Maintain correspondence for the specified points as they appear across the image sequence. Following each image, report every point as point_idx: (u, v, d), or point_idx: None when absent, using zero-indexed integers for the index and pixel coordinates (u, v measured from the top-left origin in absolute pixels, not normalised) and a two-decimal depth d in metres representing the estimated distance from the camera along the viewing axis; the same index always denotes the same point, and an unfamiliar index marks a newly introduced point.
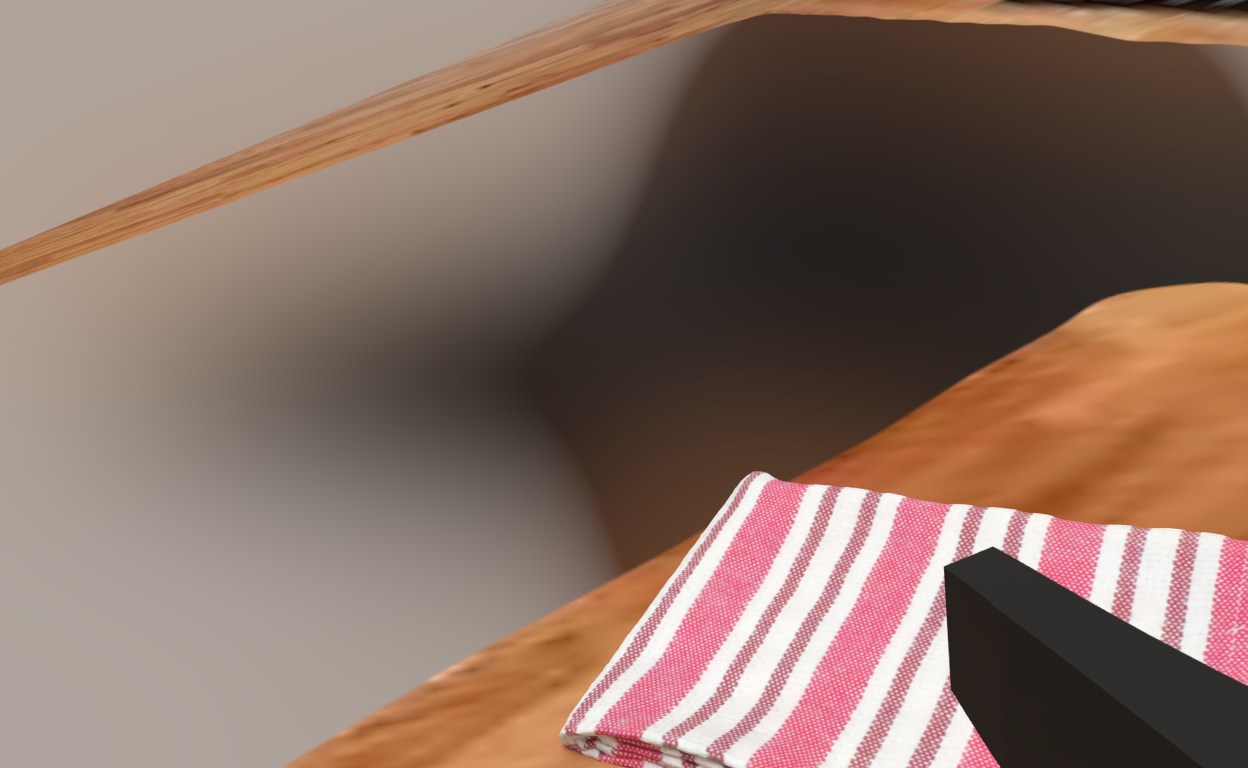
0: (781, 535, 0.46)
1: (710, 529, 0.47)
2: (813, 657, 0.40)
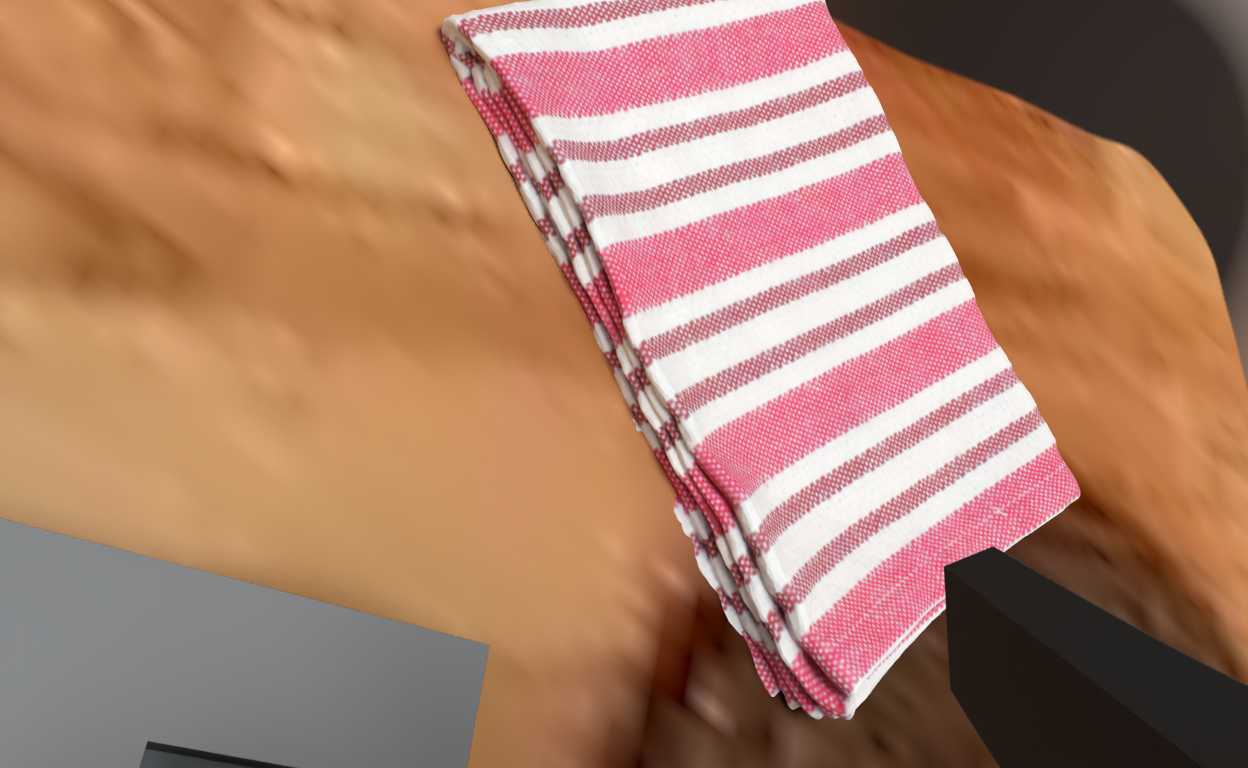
0: (785, 64, 0.37)
1: None
2: (718, 203, 0.34)
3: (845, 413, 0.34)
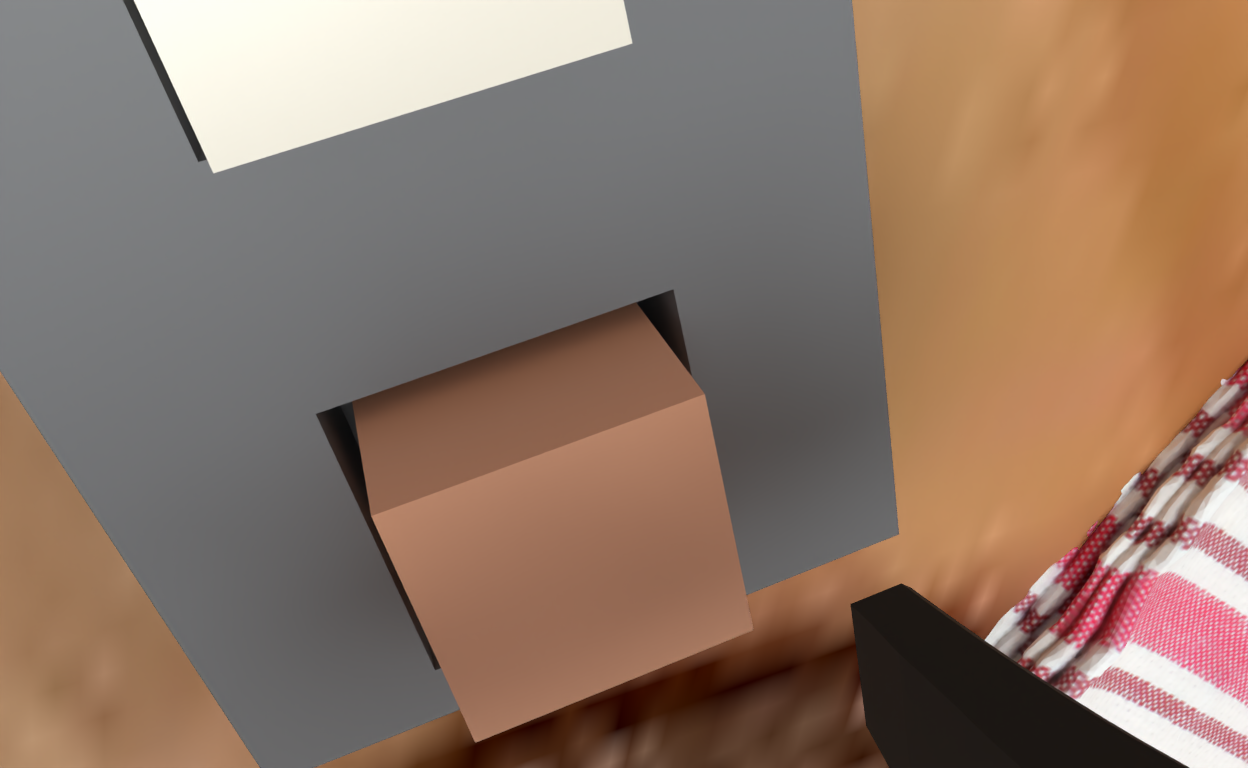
0: None
1: None
2: None
3: (1225, 669, 0.29)
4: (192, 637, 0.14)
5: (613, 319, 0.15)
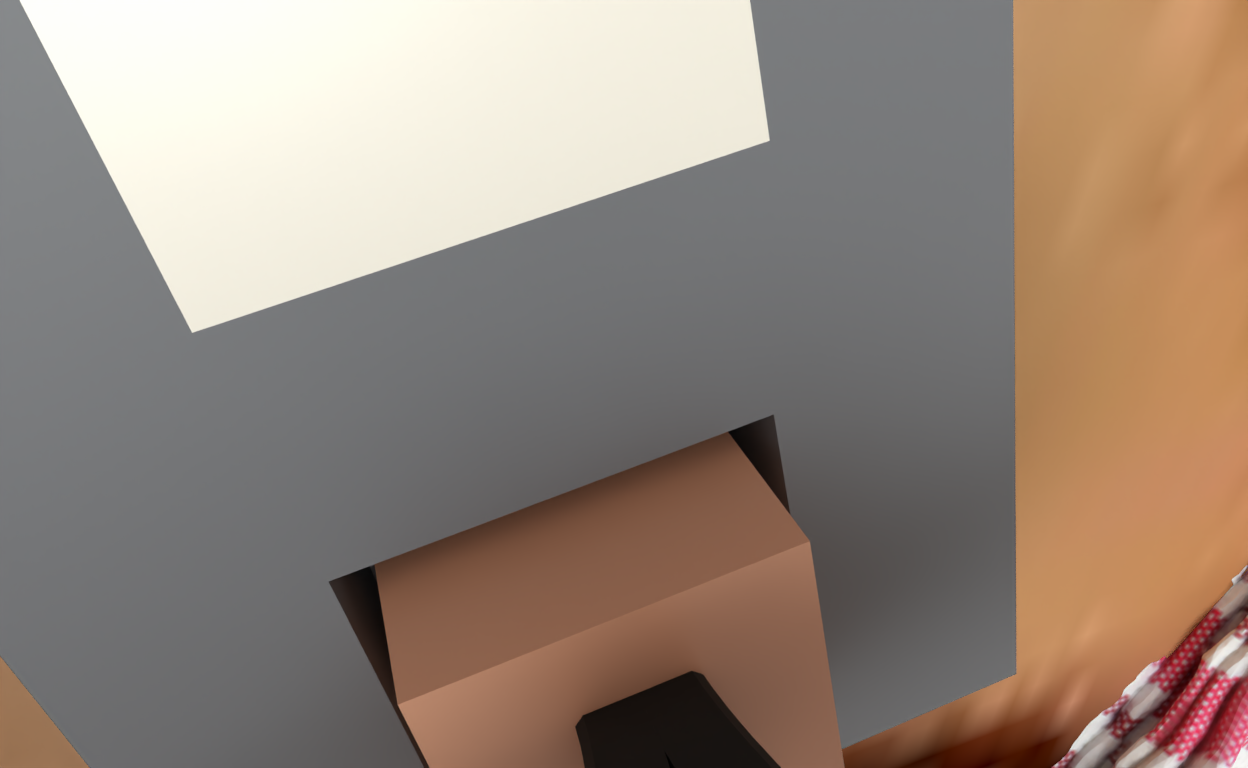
0: None
1: None
2: None
3: None
4: None
5: None
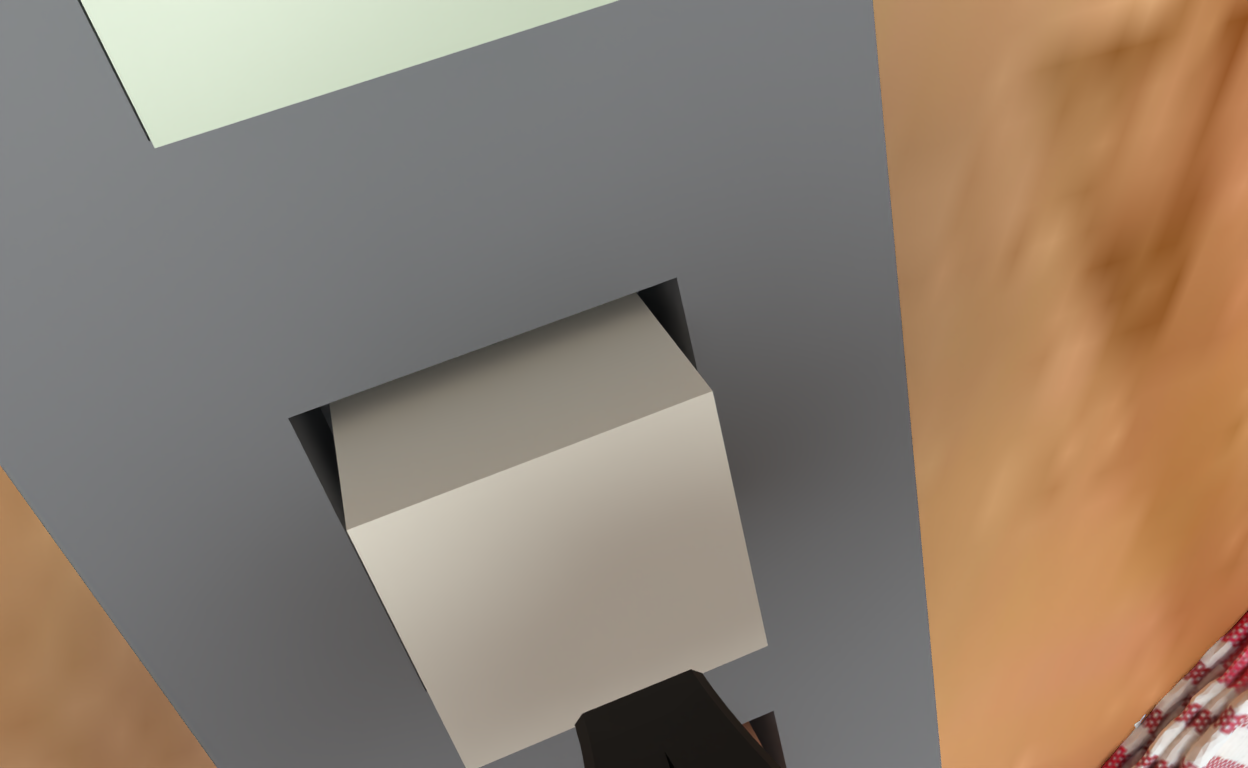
0: None
1: None
2: None
3: None
4: None
5: None
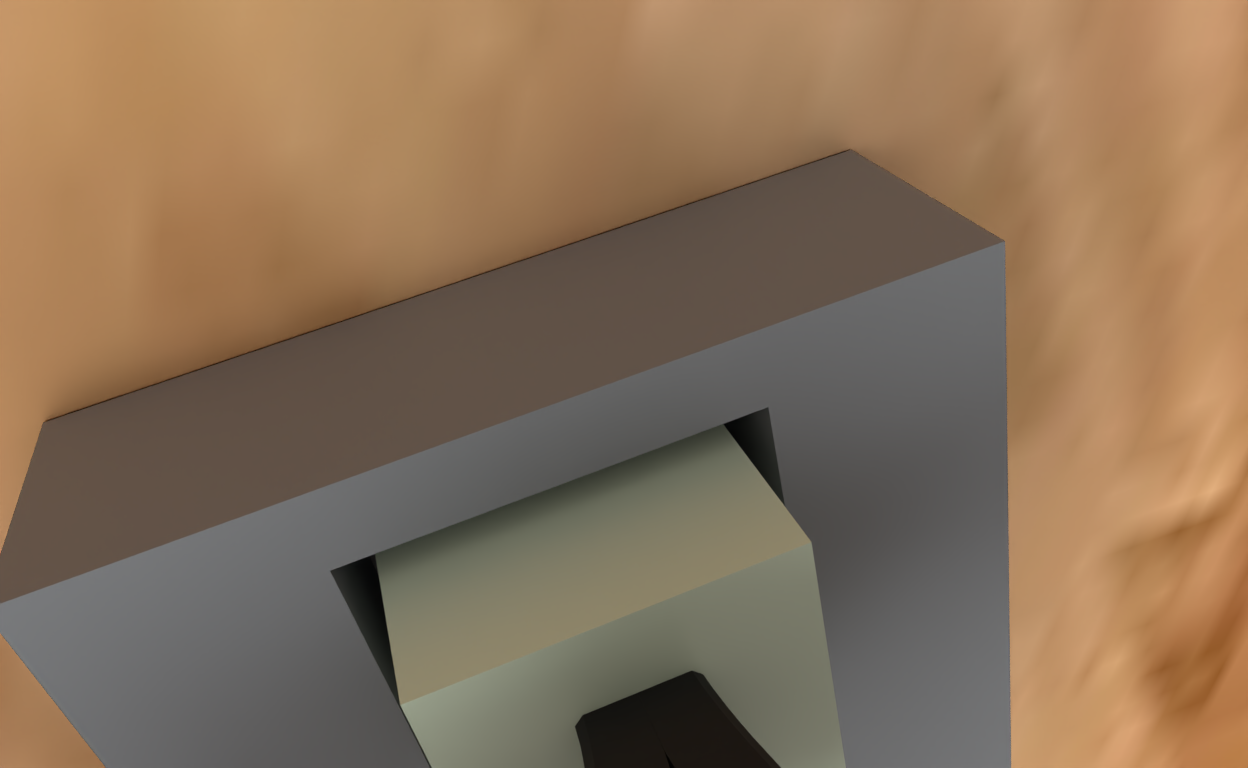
0: None
1: None
2: None
3: None
4: None
5: None
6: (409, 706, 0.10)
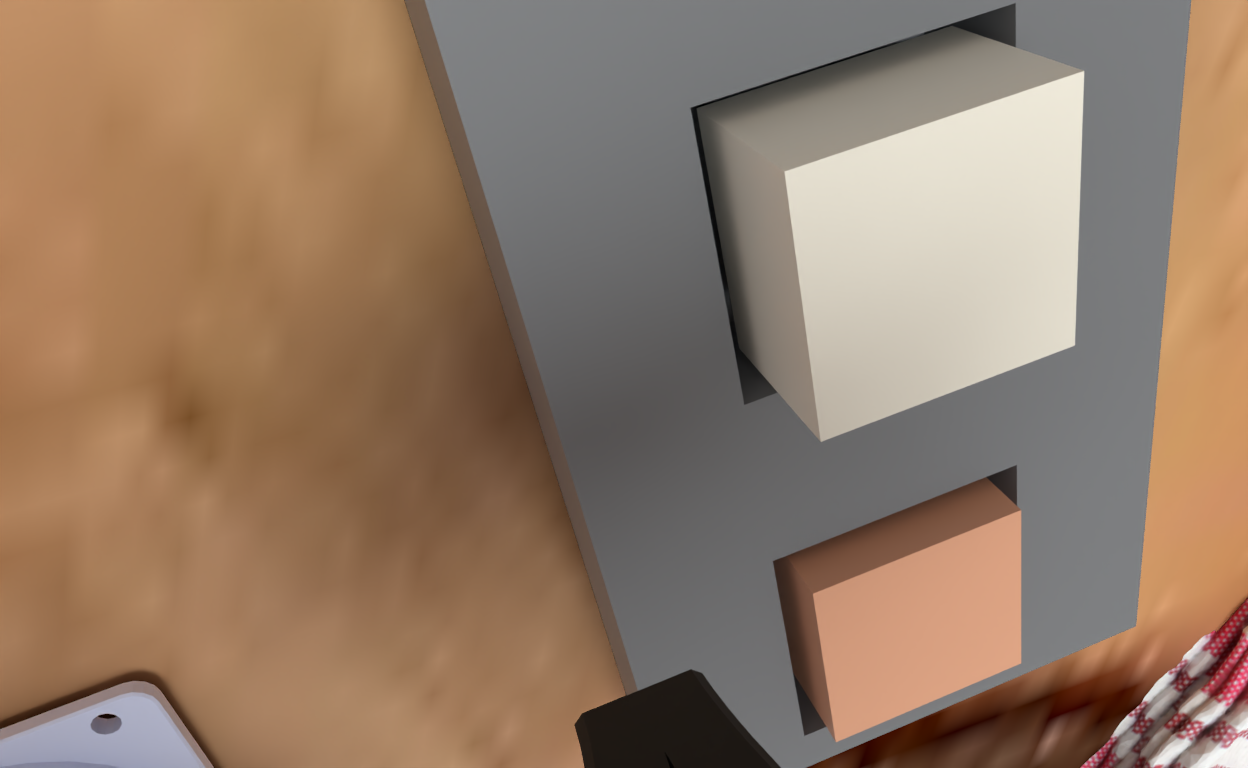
0: None
1: None
2: None
3: None
4: None
5: None
6: None
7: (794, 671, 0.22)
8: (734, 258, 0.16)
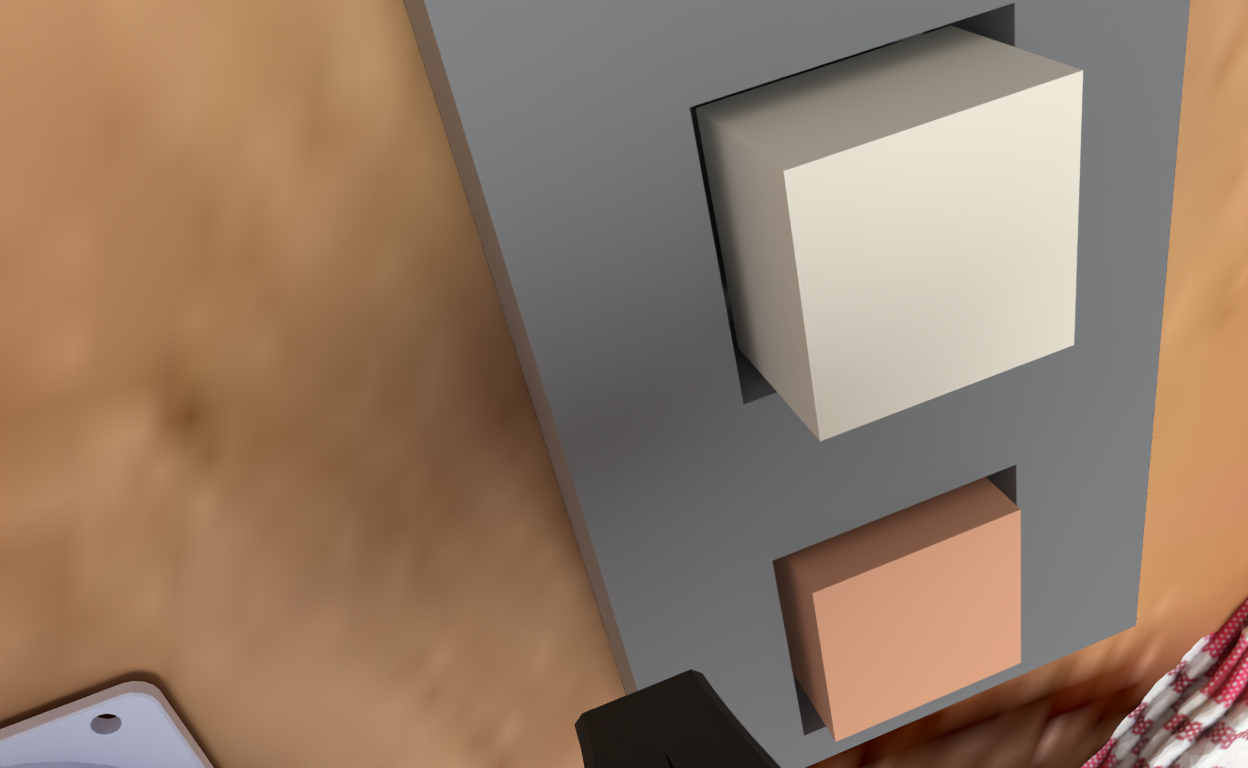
0: None
1: None
2: None
3: None
4: None
5: None
6: None
7: (794, 671, 0.22)
8: (733, 258, 0.16)
